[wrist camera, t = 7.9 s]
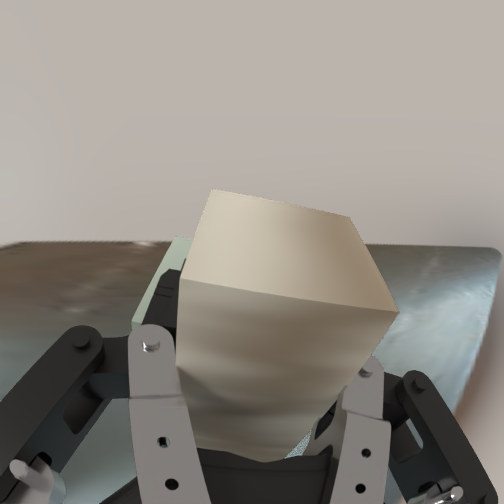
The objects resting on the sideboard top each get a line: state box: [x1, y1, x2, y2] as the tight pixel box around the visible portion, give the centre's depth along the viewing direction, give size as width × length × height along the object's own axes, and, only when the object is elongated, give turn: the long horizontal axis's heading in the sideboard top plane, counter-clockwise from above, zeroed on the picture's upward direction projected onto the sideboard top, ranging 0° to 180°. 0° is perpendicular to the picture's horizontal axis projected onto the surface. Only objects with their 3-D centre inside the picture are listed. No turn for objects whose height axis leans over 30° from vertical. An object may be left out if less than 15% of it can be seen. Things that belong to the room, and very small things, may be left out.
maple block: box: [175, 189, 399, 462], centre depth 10 cm, size 4×4×10 cm
